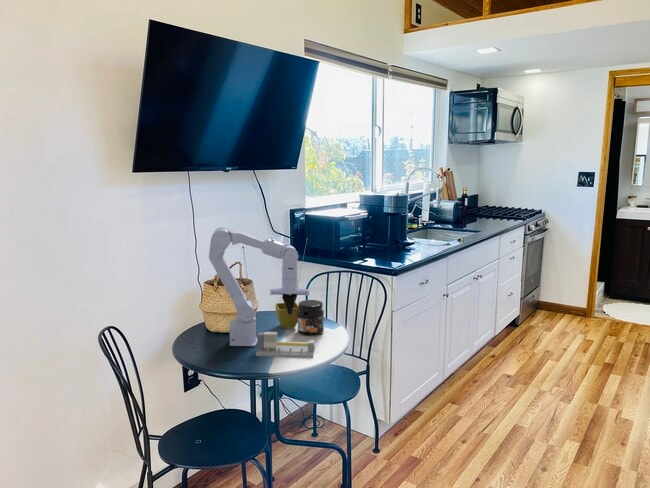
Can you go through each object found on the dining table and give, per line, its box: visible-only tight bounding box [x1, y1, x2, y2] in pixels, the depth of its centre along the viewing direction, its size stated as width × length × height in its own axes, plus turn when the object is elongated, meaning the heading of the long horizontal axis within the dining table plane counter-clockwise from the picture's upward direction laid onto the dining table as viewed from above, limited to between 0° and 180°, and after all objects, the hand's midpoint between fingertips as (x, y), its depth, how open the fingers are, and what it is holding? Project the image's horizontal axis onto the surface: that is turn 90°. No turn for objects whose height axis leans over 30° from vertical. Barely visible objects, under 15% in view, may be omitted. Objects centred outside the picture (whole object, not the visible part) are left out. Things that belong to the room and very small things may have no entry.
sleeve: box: [264, 331, 279, 350], centre depth 175 cm, size 4×3×6 cm
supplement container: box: [297, 299, 325, 337], centre depth 194 cm, size 10×10×12 cm
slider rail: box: [255, 331, 316, 358], centre depth 175 cm, size 20×9×6 cm, turn 87°
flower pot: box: [275, 301, 299, 329], centre depth 201 cm, size 9×9×9 cm
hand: (290, 313), depth 185 cm, fingers closed
